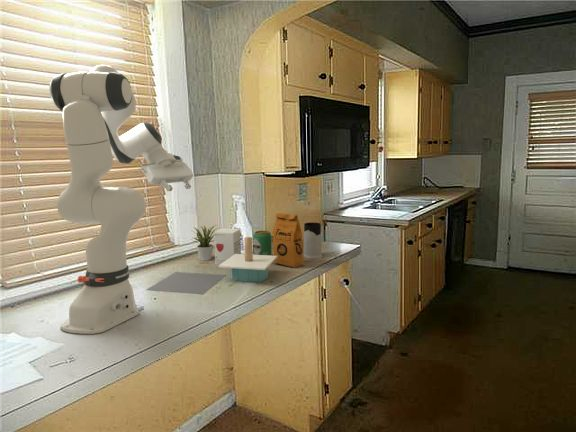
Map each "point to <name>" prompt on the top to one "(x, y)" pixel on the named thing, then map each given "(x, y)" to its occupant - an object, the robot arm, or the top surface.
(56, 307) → the top surface
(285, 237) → the coffee package
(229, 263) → the peg on square base
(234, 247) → the supplement box
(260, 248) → the beverage can
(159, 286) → the rubber mat
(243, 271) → the bowl
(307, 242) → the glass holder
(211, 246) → the house plant
